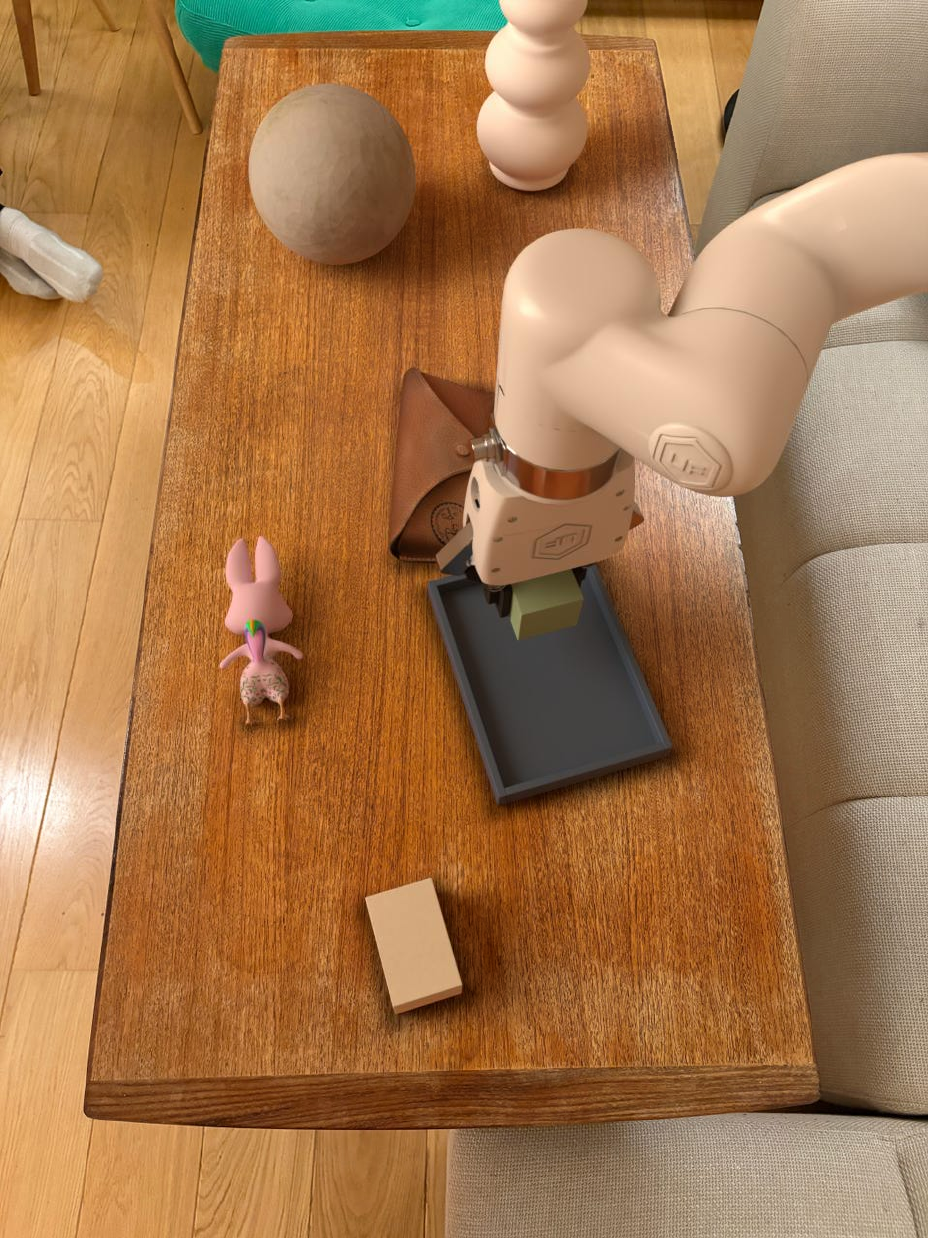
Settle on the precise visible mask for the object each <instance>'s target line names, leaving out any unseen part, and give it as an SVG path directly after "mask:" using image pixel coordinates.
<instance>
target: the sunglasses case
mask: <svg viewBox="0 0 928 1238" xmlns="http://www.w3.org/2000/svg"><path fill="white" fill-rule="evenodd" d="M400 395H401V396H400V402H399V403H400V404H399V411H398V423H397V434H396V435H397V436H396V446H395V456H394V469H393V479H392V489H391V490H392V491H391V501H390V514H389V515H390V516H389V517H390V518H389V533H388V535H389V536H388V550H389V552H390V554H391V555H392V556H393V557H395V558H396V559H398V560H399V561H402V562H409V563H411V562H412V563H428V564H429V563H430V564H438V563H437V560H436V557H435V556H436V554H437V553H438V552H439V551H440V550H441V549H442V548H443V547H444V546H445V545H446V544H447V543H448V542H449V541H450V540H451V539H452V538H453V537H454V536H455V535H456V534H458V533H459V532H460V531H461V530H462V529H463V514H464V505H465V498H466V493H467V487H468V483H469V479H470V475H471V472H472V468H473V465H474V463H473V461H472V459H471V456H470V452H469V447H468V440H470V439H474V438H479V437H480V435H481V434H485V431H487V430H488V429H489V423H490V414H492V413H494V404H495V392H494V391H489V390H477V389H473V388H471V387H467V386H464V385H462V384H459V383H456V382H453V381H450V380H447V379H444V378H441V377H438V376H435V375H432V374H429V373H426V372H424V371H423V372H422V371H421V369H420V368H419V367H416V366H412V367H410V368H408V369H407V370H406V371H405V372H404V374H403V378H402V386H401V394H400Z"/></svg>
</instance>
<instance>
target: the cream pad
mask: <svg viewBox="0 0 928 1238" xmlns="http://www.w3.org/2000/svg"><path fill="white" fill-rule="evenodd" d="M365 903H366V907H367V911H368V915H369V918H370V923H371V927H372V930H373V934H374V938H375V943H376V946H377V950H378V954H379V958H380V961H381V962H380V963H381V965H382V969H383V974H384V978H385V981H386V985H387V990H388V993H389V997H390V1001H391V1005H392V1008H393V1010H394V1013H395V1015H398V1014H401V1013H405V1012H408V1011H411V1010H414V1009H418V1008H420V1007H423V1006H424V1007H425V1006H427V1005H429V1004H433V1003H435V1002H440V1001H442V1000H445V999H448V998H451V997H454V996H458V995H461V994H462V991H463V981H462V978H461V975H460V971H459V968H458V964H457V960H456V958H455V954H454V951H453V947H452V944H451V943H452V942H451V940H450V937H449V932H448V930H447V926H446V923H445V922H446V921H445V918H444V916H443V911H442V909H441V908H442V907H441V906H440V901H439V898H438V895H437V890H436V888H435V884H434V880H433V877H428V878H425V879H422V880H418V881H416V882H412V883H409V884H405V885H401V886H398V887H395V888H392V889H389V890H384V891H382V892H378V893H375V894H372V895H369V896H368V895H367V896H365Z"/></svg>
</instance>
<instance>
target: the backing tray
mask: <svg viewBox="0 0 928 1238" xmlns="http://www.w3.org/2000/svg"><path fill="white" fill-rule="evenodd" d="M580 591H581V593H582V596H583V598H584V600H583V603H582V607H581V611H580V615H579V619H578V622H577V625H575V626H571V627H567V628H564V629H560V630H556V631H552V632H549V633H545V634H541V635H537V636H534V637H530V638H526V639H522V640H519V641H518V640H517V637H516V634H515V632H514V629H513V626H512V623H511V621H510V618H509V615H508V616H507V617H503V618H500V616H499V613H498V610H497V608H496V605H495V603H493V604H490V605H488V604H487V601H486V599H485V596H484V592H483V587H482V583H479V582H476V581H472V580H468V579H467V578H466V575H461V576H456V575H447V576H444V577H439V578H435V579H432V580H428V581H427V594H428V598H429V601H430V604H431V607H432V610H433V613H434V616H435V620H436V622H437V625H438V627H439V631H440V634H441V637H442V640H443V641H442V642H443V643H444V647H445V649H446V652H447V656H448V659H449V663H450V665H451V668H452V672H453V674H454V677H455V680H456V683H457V687H458V689H459V693H460V696H461V699H462V701H463V705H464V708H465V711H466V714H467V716H468V720H469V723H470V726H471V729H472V732H473V735H474V738H475V742H476V744H477V747H478V750H479V753H480V757H481V760H482V762H483V766H484V770H485V771H486V775H487V778H488V781H489V784H490V787H491V790H492V792H493V797H494V799H495V802H496V805H497V807H499V806H503V805H506V804H509V803H513V802H517V801H520V800H524V799H527V798H530V797H533V796H538V795H541V794H543V793H547V792H551V791H555V790H558V789H561V788H564V787H565V788H566V787H568V786H571V785H574V784H578V783H582V782H585V781H588V780H591V779H595V778H599V777H602V776H605V775H609V774H613V773H616V772H619V771H623V770H626V769H629V768H633V767H636V766H639V765H643V764H647V763H650V762H653V761H658V760H660V759H664V758H666V757H669V755H670V753H671V751H672V749H673V747H674V746H673V743H672V741H671V739H670V736H669V734H668V732H667V729H666V727H665V724H664V722H663V720H662V718H661V715H660V712H659V710H658V708H657V705H656V703H655V701H654V698H653V696H652V694H651V691H650V689H649V687H648V685H647V682H646V679H645V677H644V674H643V672H642V670H641V667H640V665H639V663H638V661H637V657H636V656H635V653H634V651H633V648H632V646H631V643H630V641H629V639H628V637H627V634H626V632H625V630H624V629H625V628H624V627H623V625H622V622H621V620H620V618H619V615H618V613H617V611H616V608H615V605H614V604H613V601H612V599H611V597H610V594H609V592H608V589H607V586H606V584H605V582H604V579H603V577H602V574H601V573H600V570H599V568H598V565H597V563H596V564H595V565H594V566H592V567H590V568H587V572H586V576H585V580H582V583H581V587H580Z"/></svg>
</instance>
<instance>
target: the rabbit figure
mask: <svg viewBox="0 0 928 1238" xmlns="http://www.w3.org/2000/svg"><path fill="white" fill-rule="evenodd" d="M225 564H226V565H225V579H226V584H227V585H228V587H229V588H230V590H231V592H232V598H231V602H230V605H229V609H228V610H227V614H226V616H225V619H224V625H225V627H226V628H227V629H228V630H229V631H230V632H232V633H233V634H235V635H237V636H244V637H245V642H246V643H245V644H242V645H240V646H239V647H237V648H236V649H234V650H233V651H231V652H230V653H228V655H226V657H225V658H223V660H222V661H221V662H220V664H219V668H220V669H221V670H226V669H227V668H228V667H229V666H230V664H231V663H232V662H233V661H234V660H236V659H239V658H241V657H247V658H248V659H249V660H250V662H249V663H248V664H247V665H246V666H245V668H244V669H243V671H242V674H241V677H240V682H239V691H240V698H241V701H242V703H243V705H244V706H245V709H246V716H247V717H246V720H245V726H247V725H248V724H250V725H251V726H252V725H253V724H255V723H257V724H259V720H256V719H254V718H253V717H252V715H251V709H252V707H254V706H258V705H259V704H261V703H262V702H263V700H265V699H269V701H271V702H273V703H277V704H278V705H279V706H280V715H279V716H278V717H277V721H279V720H285V721H287V719H288V720H291V717H290V715H289V714H287V713H286V712H285V709H284V702H285V700H286V699H287V698H288V696H289V693H290V687H289V681H288V678H287V676H286V674H285V672H284V670H283V669H282V667H281V666H280V664H278V663H277V662H276V661H274V660H275V657H276V654H277V653H279V652H285V653H289V654H291V655H292V656H293V657H294V658H295V659H296V660H299V661H300V660H303V658H304V653H302V651H300V650H299V649H297V648H296V647H295V646H293V645H291V644H288V643H286V642H284V641H281V640H276V639H273V638H270V637H269V635H270V634H272V633H277V632H280V631H282V630H284V629H285V628H287V626H288V625H289V624H290V623H291V622H292V619H293V611H292V610H291V609H290V607H289V605H287V602H286V601H285V600H284V598H283V597H282V595H281V593H280V590H279V587H280V586H279V585H280V582H281V577H282V569H281V564H280V560H279V558H278V553H277V552H276V549H275V547H274V545H272V543H271V542H270V541H269V540H268V539H267V538H266V537H265V536H263V535H259V536H258V538H257V543H256V547H255V551H254V566H255V567H254V571H255V581H254V580H253V571H252V563H251V556H250V552H249V549H248V546H247V543H246V539H245V538H243V537H241V538H239V539H238V540H237V541H236V542H235V543H234V544H233V546H232V547H231V549H230V550H229V552H228V555H227V557H226V563H225Z"/></svg>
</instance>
